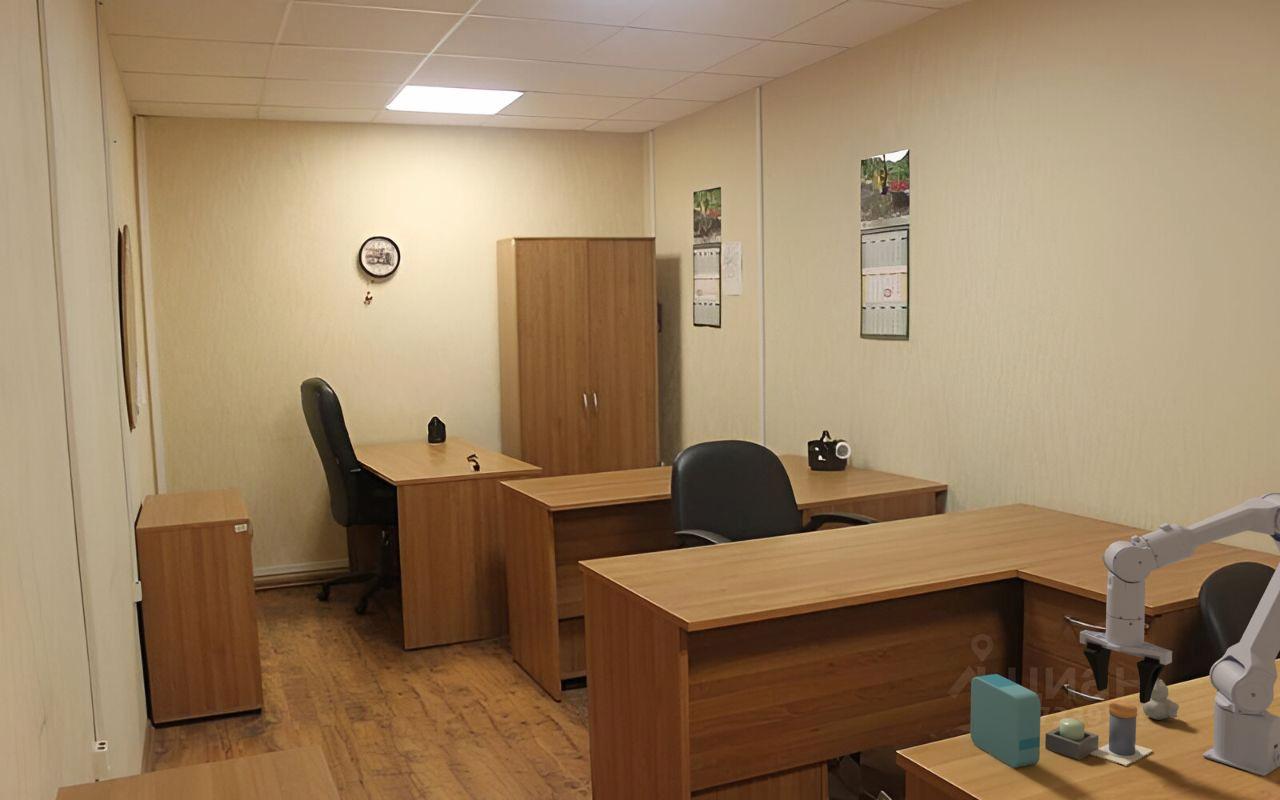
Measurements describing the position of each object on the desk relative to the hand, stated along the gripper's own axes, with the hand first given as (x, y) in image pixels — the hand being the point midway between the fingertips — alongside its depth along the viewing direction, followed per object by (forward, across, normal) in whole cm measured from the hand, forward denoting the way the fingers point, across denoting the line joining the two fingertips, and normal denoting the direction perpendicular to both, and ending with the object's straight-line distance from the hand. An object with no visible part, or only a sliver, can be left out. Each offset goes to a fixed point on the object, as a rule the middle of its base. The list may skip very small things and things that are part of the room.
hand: (1123, 695), depth 169 cm
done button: (+8, -6, -5) cm, 11 cm away
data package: (+10, -12, -16) cm, 22 cm away
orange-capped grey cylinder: (+10, 0, 0) cm, 10 cm away
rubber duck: (+10, -3, +20) cm, 22 cm away
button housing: (+10, -6, -5) cm, 13 cm away
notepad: (+10, 0, 0) cm, 10 cm away
